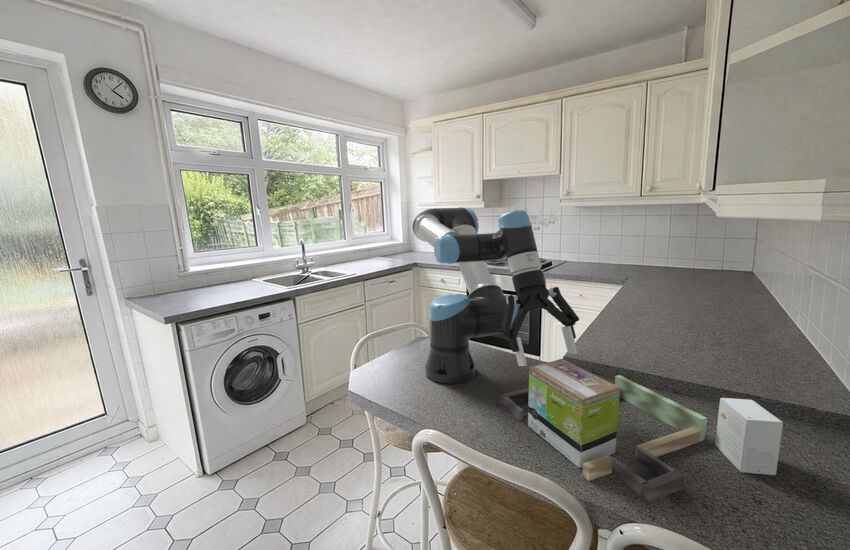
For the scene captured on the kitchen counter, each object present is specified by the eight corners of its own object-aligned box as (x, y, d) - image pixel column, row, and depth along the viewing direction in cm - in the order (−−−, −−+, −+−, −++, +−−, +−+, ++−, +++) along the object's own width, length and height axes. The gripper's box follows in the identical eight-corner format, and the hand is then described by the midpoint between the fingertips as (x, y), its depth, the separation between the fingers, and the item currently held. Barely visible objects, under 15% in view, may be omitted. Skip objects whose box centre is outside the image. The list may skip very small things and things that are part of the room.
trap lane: (500, 403, 89) (500, 385, 88) (596, 380, 99) (597, 364, 98) (621, 513, 56) (623, 486, 55) (746, 462, 66) (749, 438, 65)
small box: (776, 476, 63) (785, 422, 61) (739, 473, 64) (747, 420, 62) (745, 447, 70) (752, 398, 69) (713, 444, 71) (719, 396, 70)
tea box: (525, 427, 79) (527, 365, 76) (560, 416, 83) (562, 356, 80) (579, 470, 65) (583, 397, 63) (617, 454, 69) (622, 385, 67)
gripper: (486, 276, 80) (507, 371, 76) (579, 261, 86) (603, 348, 83) (474, 283, 87) (493, 370, 84) (561, 268, 93) (582, 348, 90)
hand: (548, 359), depth 83 cm, fingers open, 13 cm apart
